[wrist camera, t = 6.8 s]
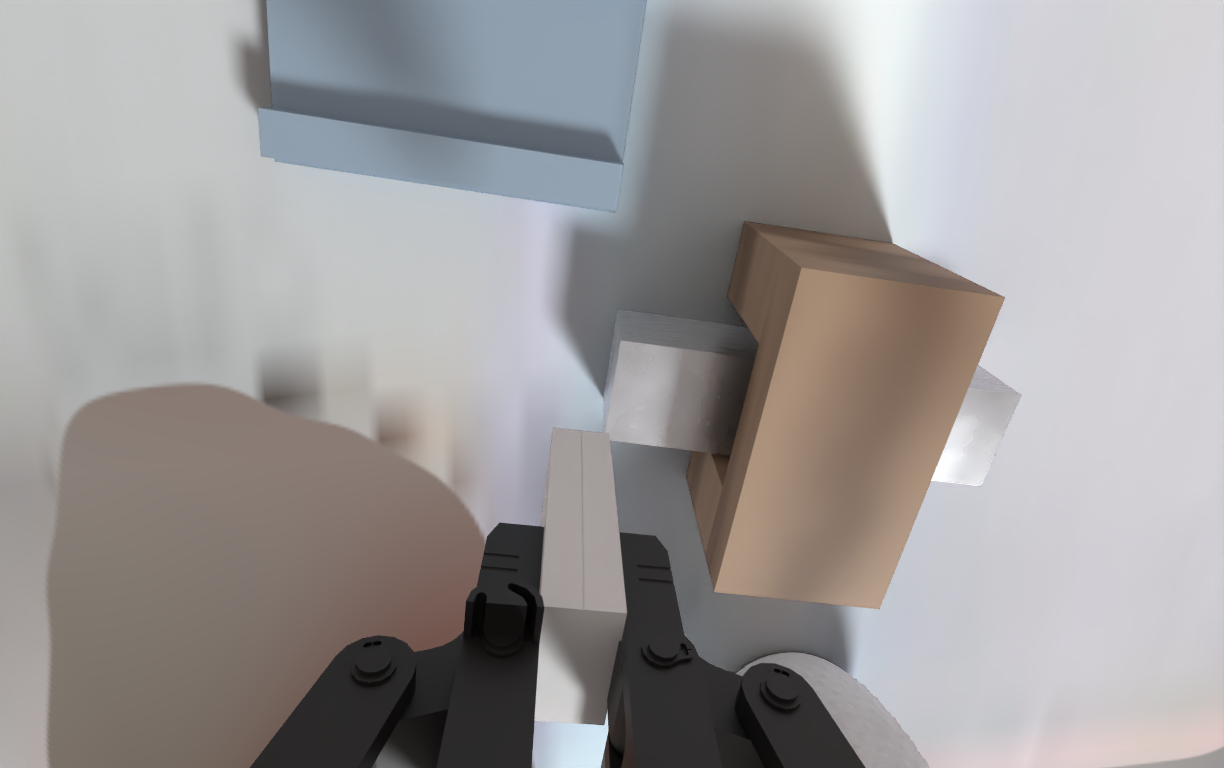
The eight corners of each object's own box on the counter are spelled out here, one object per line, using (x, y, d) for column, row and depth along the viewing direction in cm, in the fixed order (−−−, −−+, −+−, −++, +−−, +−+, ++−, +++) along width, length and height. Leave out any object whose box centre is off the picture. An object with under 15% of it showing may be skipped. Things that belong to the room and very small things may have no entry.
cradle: (287, 159, 24) (261, 164, 22) (273, -146, 20) (241, -171, 18) (614, 208, 25) (616, 217, 23) (656, -74, 21) (662, -90, 19)
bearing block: (686, 477, 29) (714, 592, 23) (744, 221, 25) (801, 267, 18) (813, 491, 30) (879, 609, 23) (893, 243, 25) (1004, 297, 19)
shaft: (602, 395, 28) (604, 439, 24) (617, 306, 26) (620, 340, 23) (932, 437, 29) (980, 486, 26) (965, 355, 28) (1021, 395, 24)
